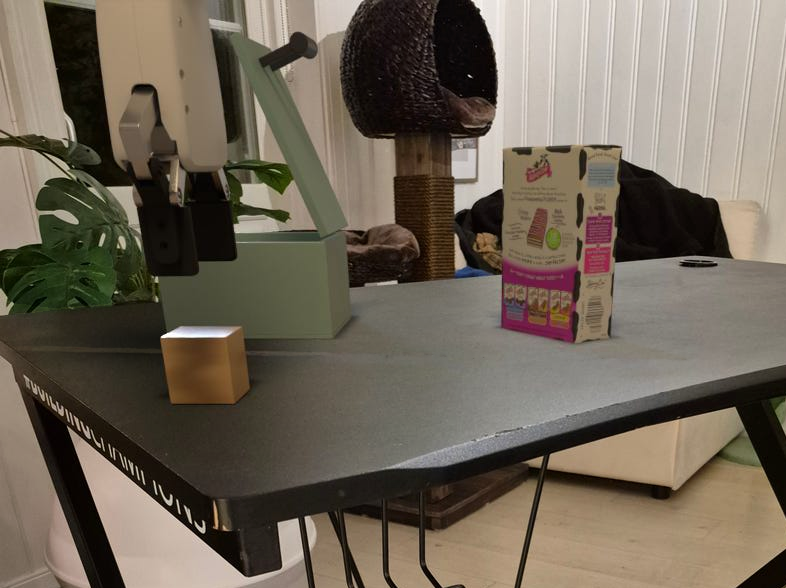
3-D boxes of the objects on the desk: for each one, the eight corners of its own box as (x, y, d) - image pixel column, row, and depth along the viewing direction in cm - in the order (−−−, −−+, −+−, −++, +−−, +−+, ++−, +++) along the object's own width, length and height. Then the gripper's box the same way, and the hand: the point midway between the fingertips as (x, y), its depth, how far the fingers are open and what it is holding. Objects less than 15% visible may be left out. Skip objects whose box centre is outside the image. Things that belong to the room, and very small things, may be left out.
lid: (228, 36, 74) (286, 5, 73) (263, 52, 85) (314, 25, 84) (320, 238, 81) (375, 213, 80) (341, 228, 92) (389, 206, 91)
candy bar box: (613, 342, 85) (626, 144, 77) (574, 349, 82) (583, 144, 75) (536, 327, 93) (540, 145, 85) (498, 332, 90) (499, 145, 83)
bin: (168, 344, 85) (152, 242, 81) (206, 322, 96) (193, 232, 92) (333, 344, 85) (325, 242, 81) (351, 322, 96) (345, 231, 92)
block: (170, 404, 65) (159, 337, 62) (189, 389, 69) (180, 326, 67) (234, 404, 65) (226, 337, 62) (250, 389, 69) (242, 326, 66)
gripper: (139, -13, 62) (180, 257, 70) (23, -70, 47) (93, 283, 55) (247, -15, 62) (277, 255, 70) (167, -72, 47) (216, 282, 55)
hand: (196, 267), depth 62 cm, fingers open, 9 cm apart
